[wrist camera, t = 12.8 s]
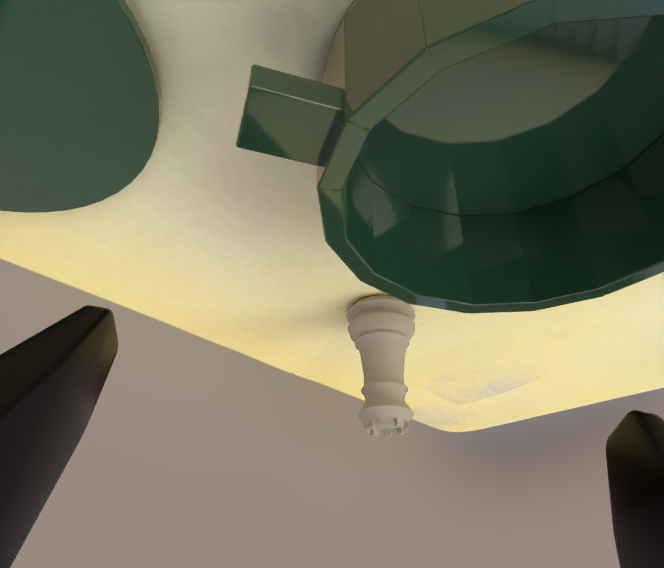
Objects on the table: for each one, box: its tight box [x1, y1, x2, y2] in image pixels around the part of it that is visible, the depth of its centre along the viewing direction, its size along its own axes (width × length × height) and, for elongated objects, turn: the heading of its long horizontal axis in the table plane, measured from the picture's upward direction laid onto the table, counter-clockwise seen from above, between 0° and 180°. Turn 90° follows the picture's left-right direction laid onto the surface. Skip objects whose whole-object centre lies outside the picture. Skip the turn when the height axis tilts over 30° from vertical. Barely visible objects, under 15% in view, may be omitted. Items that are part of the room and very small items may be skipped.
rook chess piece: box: [347, 295, 415, 438], centre depth 33 cm, size 4×4×8 cm
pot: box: [236, 0, 664, 313], centre depth 19 cm, size 15×20×6 cm
